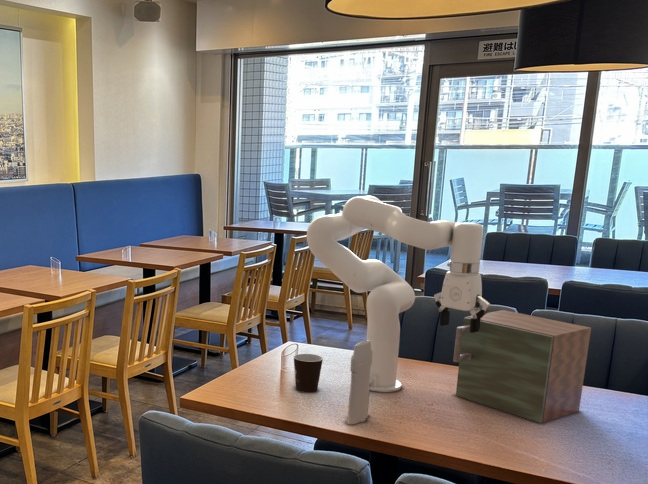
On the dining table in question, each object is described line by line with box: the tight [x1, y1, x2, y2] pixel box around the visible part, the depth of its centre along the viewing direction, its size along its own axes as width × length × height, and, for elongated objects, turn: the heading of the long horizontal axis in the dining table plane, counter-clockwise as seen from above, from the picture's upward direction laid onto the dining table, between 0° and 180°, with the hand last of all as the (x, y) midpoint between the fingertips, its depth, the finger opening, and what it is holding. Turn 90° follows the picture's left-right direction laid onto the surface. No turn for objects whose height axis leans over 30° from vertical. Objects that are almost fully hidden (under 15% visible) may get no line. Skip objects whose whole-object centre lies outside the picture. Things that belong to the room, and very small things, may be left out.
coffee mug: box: [293, 353, 324, 393], centre depth 220 cm, size 12×9×10 cm
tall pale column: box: [346, 339, 373, 425], centre depth 192 cm, size 11×4×22 cm, turn 136°
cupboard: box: [466, 309, 592, 423], centre depth 204 cm, size 17×26×24 cm, turn 30°
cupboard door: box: [452, 316, 554, 424], centre depth 198 cm, size 7×26×24 cm, turn 30°
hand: (458, 328), depth 202 cm, fingers open, 9 cm apart
